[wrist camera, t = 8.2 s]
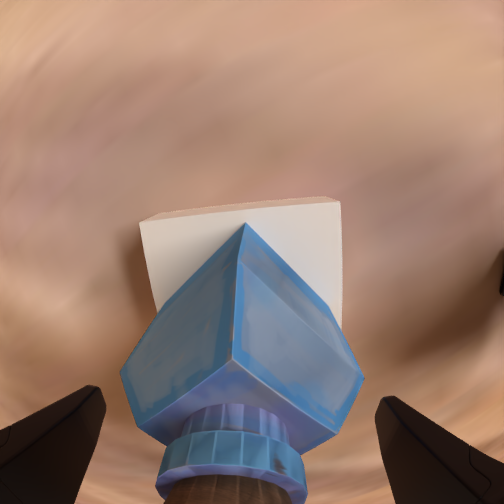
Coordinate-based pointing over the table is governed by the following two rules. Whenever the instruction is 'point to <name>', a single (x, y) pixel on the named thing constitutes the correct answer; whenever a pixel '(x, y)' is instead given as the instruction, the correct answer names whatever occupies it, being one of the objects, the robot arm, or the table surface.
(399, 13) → the table surface
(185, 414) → the perfume bottle
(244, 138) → the table surface
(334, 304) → the cream block
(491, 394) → the table surface
